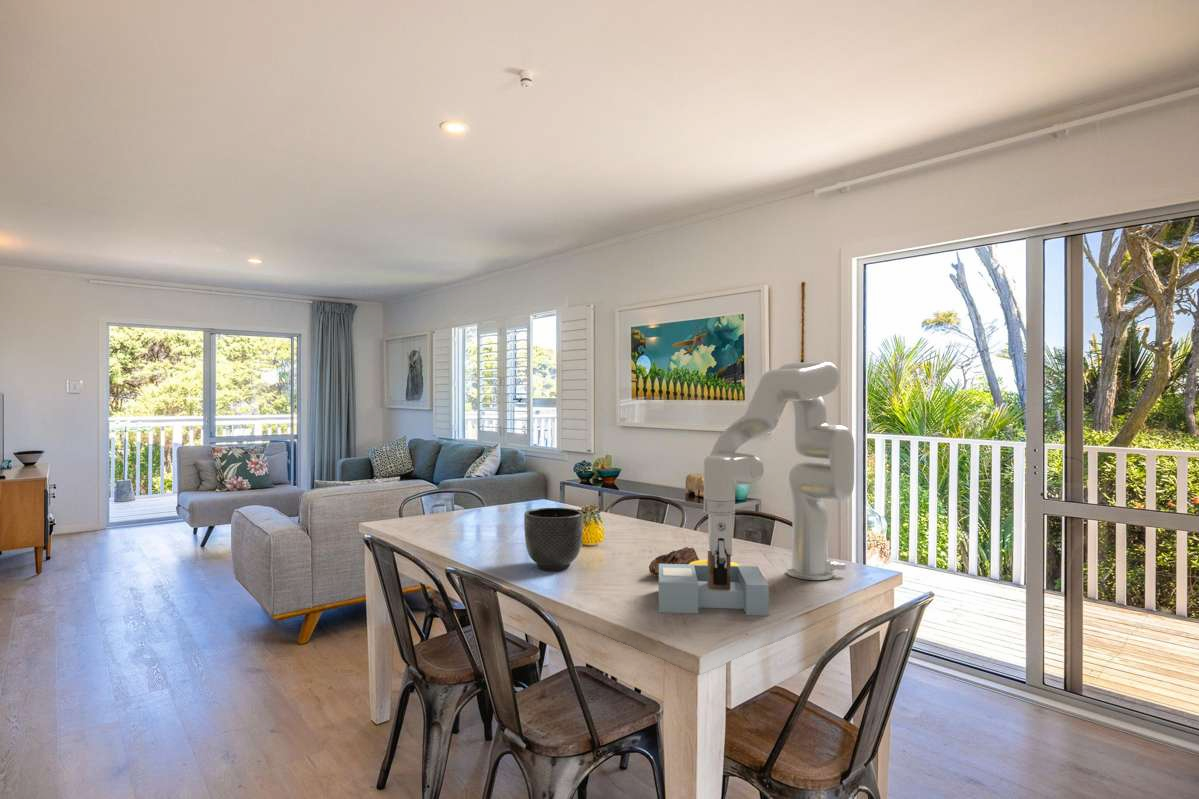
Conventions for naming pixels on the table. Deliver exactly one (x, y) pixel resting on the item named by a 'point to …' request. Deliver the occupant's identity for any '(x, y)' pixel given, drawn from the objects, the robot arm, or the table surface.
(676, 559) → the driftwood
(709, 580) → the walnut block
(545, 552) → the planter
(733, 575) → the slot box
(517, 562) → the table surface
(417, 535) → the table surface
